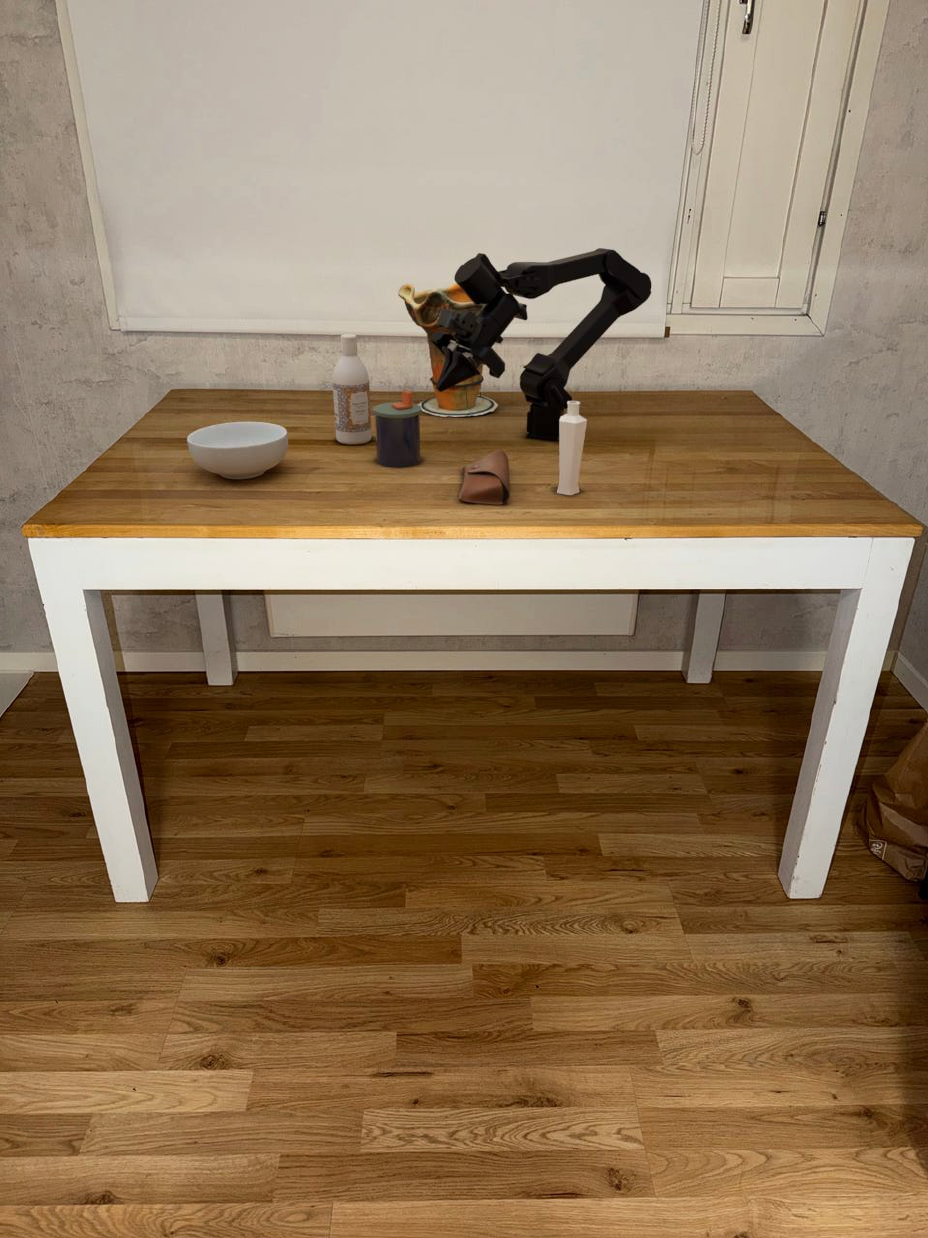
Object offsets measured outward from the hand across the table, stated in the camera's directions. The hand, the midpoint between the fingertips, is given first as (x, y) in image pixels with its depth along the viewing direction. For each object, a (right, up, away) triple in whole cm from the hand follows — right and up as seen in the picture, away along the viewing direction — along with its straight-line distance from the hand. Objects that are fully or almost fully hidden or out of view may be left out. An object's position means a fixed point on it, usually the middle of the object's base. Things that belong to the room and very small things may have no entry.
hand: (438, 389), depth 157 cm
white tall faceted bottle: (+22, -20, -12) cm, 33 cm away
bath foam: (-17, -7, +13) cm, 22 cm away
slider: (-7, -4, -3) cm, 9 cm away
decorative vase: (+3, +5, +35) cm, 36 cm away
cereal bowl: (-34, -16, -5) cm, 38 cm away
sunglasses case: (+8, -19, -10) cm, 23 cm away
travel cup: (-7, -13, +2) cm, 15 cm away
